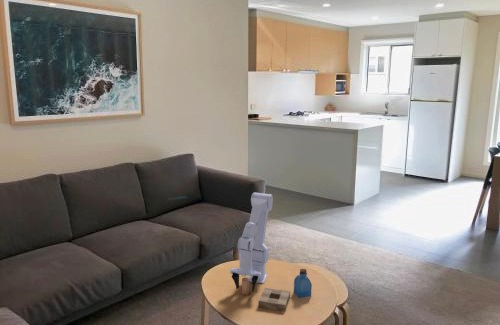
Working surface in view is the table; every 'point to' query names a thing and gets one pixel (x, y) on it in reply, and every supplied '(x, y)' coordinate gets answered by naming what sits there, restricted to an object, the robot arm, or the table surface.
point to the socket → (274, 299)
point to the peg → (245, 286)
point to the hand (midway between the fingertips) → (245, 289)
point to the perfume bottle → (302, 284)
